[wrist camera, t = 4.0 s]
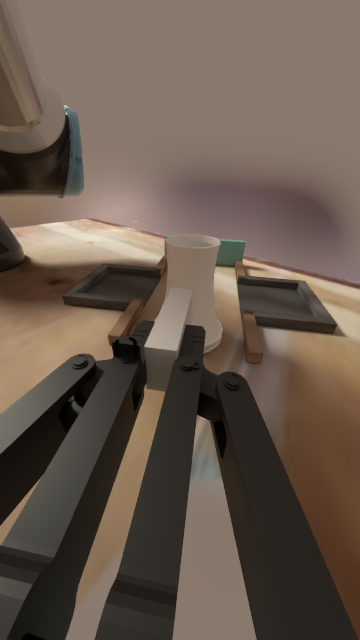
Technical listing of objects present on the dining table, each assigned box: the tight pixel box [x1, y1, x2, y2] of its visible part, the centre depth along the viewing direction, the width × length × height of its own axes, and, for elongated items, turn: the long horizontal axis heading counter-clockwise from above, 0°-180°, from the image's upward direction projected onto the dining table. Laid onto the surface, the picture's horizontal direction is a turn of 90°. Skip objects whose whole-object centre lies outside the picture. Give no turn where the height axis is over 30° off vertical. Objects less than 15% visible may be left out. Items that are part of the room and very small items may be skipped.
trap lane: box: [62, 254, 337, 364], centre depth 34 cm, size 27×33×1 cm
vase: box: [154, 234, 223, 354], centre depth 23 cm, size 8×8×10 cm
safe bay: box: [165, 235, 245, 266], centre depth 45 cm, size 1×15×4 cm, turn 81°
